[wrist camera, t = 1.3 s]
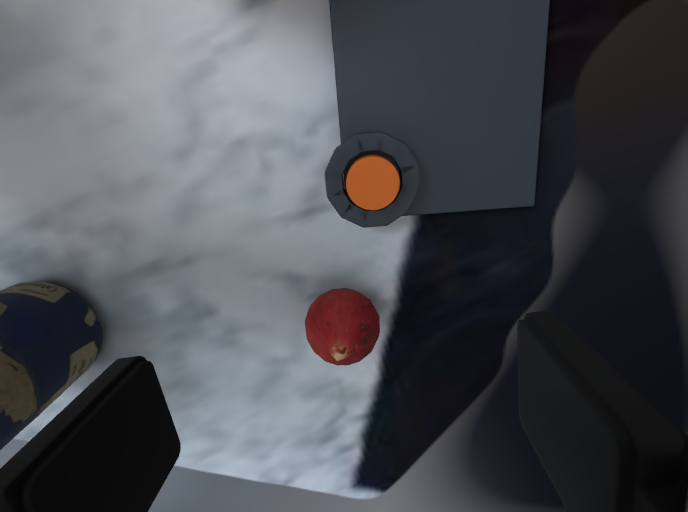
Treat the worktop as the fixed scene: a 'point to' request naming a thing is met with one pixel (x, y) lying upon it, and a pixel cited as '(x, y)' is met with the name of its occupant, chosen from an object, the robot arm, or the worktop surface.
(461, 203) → the scale
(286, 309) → the worktop surface
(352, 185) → the button
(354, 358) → the onion
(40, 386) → the canister
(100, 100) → the worktop surface
